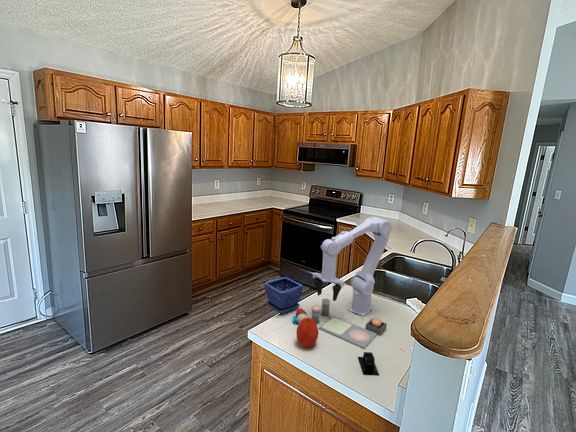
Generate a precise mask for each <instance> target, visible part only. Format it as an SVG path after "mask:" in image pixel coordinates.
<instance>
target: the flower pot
mask: <svg viewBox="0 0 576 432" xmlns="http://www.w3.org/2000/svg"><path fill="white" fill-rule="evenodd" d="M303 287H304V286H303V285H302V284H301V283H299V282H297V281H296V280H293V279H291V278H289V277H287V276H283V277H280V278H276V279H273V280H270V281H267V282H265V283H264V291H265V296H266V298H267V300H268V301H266V305H267V306H269V308H271V309H272V310H273V311H275V312H277V313H278V314H280V313H281V314H280V315H282V314H285V313H288V312H291V311H293V310H295V309H296V310H297V309H299V306H300V305H301V304H299V301H300V300H301V296H302V293H303Z"/></svg>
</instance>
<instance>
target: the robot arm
mask: <svg viewBox="0 0 576 432" xmlns="http://www.w3.org/2000/svg"><path fill="white" fill-rule="evenodd" d="M392 230H393V226H392V223H391V222H390V221H389V220H387V219H384V218H382V217H381V218H380V217H377V216H375V215H371V216H370V217H367V218H365V220H364V222H362V223H361V224H359V225H358V226H356V227H354V228H353V229H351V230H350V231H346V230H345V231H344V230H343V231H340V233H339V234H337V235H336V236H332V237H331V239H329V238H328V239H325V240H324V241H323V242H322V243H321V245H320V249H321V250H322V267H321V268H322V269H321V273H320V272H313V273H312V278H313V280H312V282H313V284H314V286H315V288H316V289H315V290H316V293H317V296H320V295H322V291H323V284H324V283H330V284H334V285H333V286H332V287H331V289H332V301H333V302H336V300H337V299H338V296H339V293H340V291H341V290H342V288H343V287H345V281H344V280H342V279H340V278H338V277H337V276H336V274H337V273H336V272H337V270H336V269H337V259H338V258H337V256H338V255H339V253H340V251H341V250H342V249H344V248H346V247H347V246H349V245H351V244H352V243H353V241H354V239H356V238H358V237H360V236H362V235H365V234H366V233H368V232H369V233H371V234H372V236H373V237H374V241H373V243H372V245H371V247H370V249H369V252H368V254H367V256H366V259H365V260H364V262H363V263H364V264H363V265H362V268H361V270H358V271H356V272H355V274H354V276H353V277H352V278H351V280H350V286H351V287H352V299H351V300H352V301H351V306H350V307H349V308H348V310H347V311H349V312H352V313H354V314H357V315H359V316H362V317H365V316H367V314H369V312H370V311H372V310H373V307H371V306H372V305H371V304H372V293H373V292H374V287H375V282H376V281H375V277H374V274H375V271H376V269H377V267H378V266H379V265H378V264H379V262H380V261H381V258H382V256H383V254H384V250H385V249H386V247H387V244H388V242H389V239H390V233H391V232H392Z"/></svg>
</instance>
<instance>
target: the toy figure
mask: <svg viewBox="0 0 576 432" xmlns="http://www.w3.org/2000/svg"><path fill="white" fill-rule="evenodd" d="M304 318H309V316H308V314H307V312H306V310H305V309H303V308H299V307H298V308H296V311H295V315H293V316H292V322H293V324H294V326H295V325H297V326H298V325H299V323H300V322H301V321H302V320H303V319H304Z"/></svg>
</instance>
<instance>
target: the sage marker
mask: <svg viewBox="0 0 576 432" xmlns="http://www.w3.org/2000/svg"><path fill="white" fill-rule="evenodd" d="M330 305H331V300H330V299H329V298H322V299H321V316H322V317H324V318H325V317H329V315H330Z"/></svg>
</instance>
